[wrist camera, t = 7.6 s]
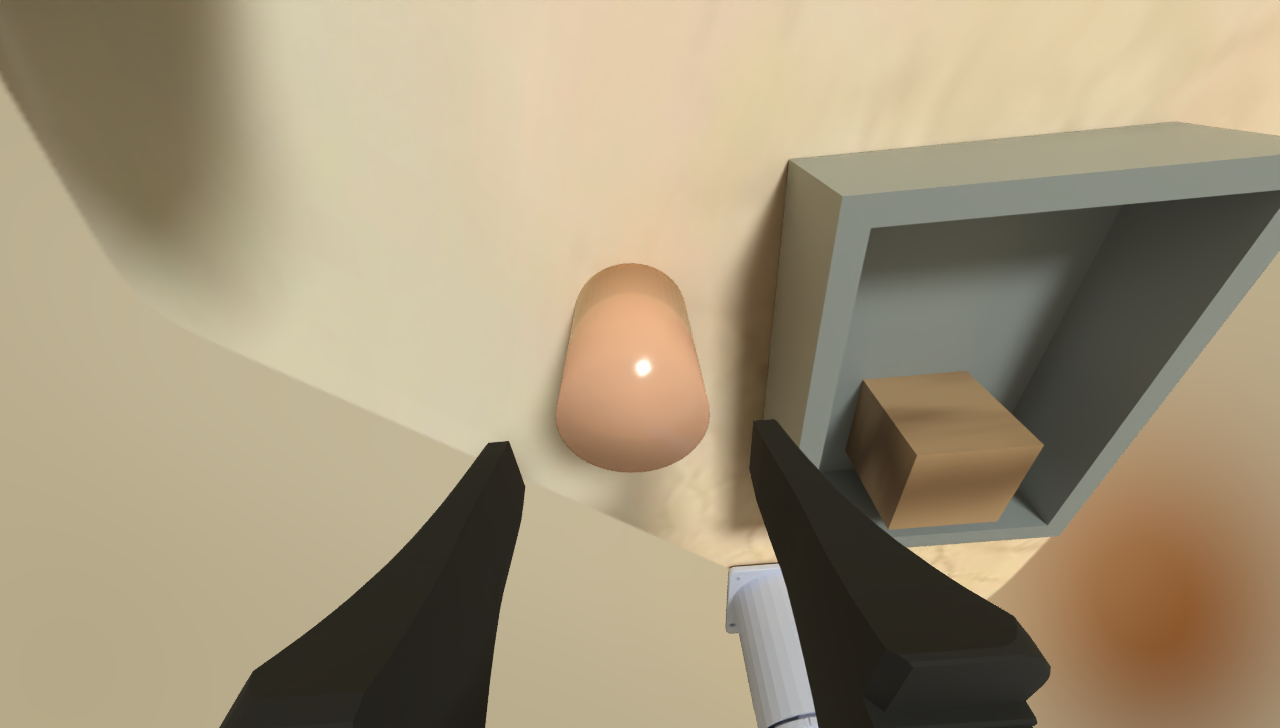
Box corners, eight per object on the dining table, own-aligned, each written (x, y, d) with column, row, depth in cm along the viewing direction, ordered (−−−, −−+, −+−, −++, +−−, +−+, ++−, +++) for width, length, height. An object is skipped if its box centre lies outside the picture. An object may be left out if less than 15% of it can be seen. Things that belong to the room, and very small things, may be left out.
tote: (992, 461, 27) (1059, 536, 23) (757, 479, 27) (780, 556, 23) (1175, 121, 16) (1359, 146, 12) (789, 159, 17) (842, 196, 13)
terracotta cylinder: (687, 355, 22) (709, 466, 16) (584, 364, 22) (570, 477, 16) (684, 257, 19) (710, 350, 13) (565, 269, 19) (541, 365, 13)
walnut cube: (936, 443, 25) (997, 521, 21) (844, 450, 25) (887, 529, 21) (966, 370, 22) (1044, 444, 18) (863, 379, 22) (917, 455, 18)
